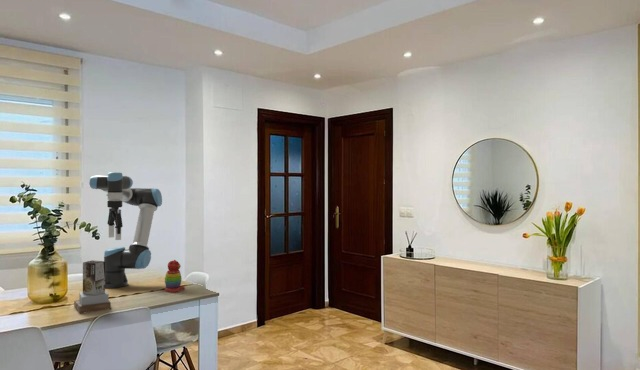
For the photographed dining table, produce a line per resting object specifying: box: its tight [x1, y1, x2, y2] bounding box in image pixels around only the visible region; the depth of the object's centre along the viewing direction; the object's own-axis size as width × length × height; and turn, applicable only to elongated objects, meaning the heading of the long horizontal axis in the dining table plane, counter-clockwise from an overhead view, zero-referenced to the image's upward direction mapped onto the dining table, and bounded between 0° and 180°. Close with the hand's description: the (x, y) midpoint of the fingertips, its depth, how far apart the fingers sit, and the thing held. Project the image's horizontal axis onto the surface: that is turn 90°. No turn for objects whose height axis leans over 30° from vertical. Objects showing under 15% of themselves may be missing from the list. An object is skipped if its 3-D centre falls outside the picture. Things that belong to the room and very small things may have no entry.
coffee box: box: [82, 260, 106, 295], centre depth 228 cm, size 9×6×16 cm
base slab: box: [73, 299, 112, 314], centre depth 227 cm, size 14×14×4 cm
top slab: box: [78, 289, 110, 305], centre depth 227 cm, size 12×12×4 cm
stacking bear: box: [164, 259, 186, 294], centre depth 264 cm, size 11×10×18 cm
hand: (114, 238), depth 247 cm, fingers open, 13 cm apart
